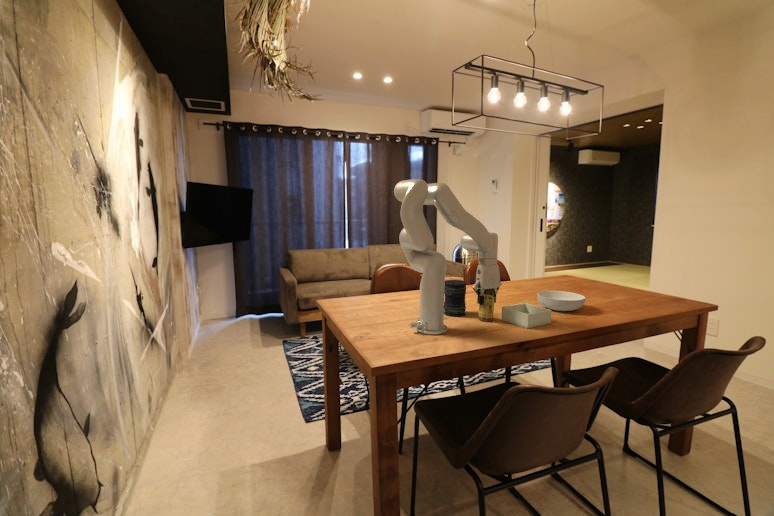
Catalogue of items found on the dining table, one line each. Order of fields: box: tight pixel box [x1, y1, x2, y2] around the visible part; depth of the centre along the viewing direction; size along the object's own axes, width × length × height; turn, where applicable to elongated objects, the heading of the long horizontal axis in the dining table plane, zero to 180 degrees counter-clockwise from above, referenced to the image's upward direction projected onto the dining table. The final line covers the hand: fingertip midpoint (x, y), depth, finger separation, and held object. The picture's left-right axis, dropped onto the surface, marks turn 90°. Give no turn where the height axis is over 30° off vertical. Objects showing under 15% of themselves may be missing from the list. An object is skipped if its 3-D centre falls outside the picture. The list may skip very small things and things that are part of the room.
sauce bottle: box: [478, 289, 495, 322], centre depth 160 cm, size 6×6×20 cm
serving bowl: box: [536, 290, 586, 312], centre depth 178 cm, size 21×21×7 cm
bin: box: [500, 302, 553, 330], centre depth 158 cm, size 14×14×6 cm
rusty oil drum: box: [444, 279, 467, 318], centre depth 170 cm, size 10×10×15 cm
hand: (486, 302), depth 160 cm, fingers closed on sauce bottle, 6 cm apart
